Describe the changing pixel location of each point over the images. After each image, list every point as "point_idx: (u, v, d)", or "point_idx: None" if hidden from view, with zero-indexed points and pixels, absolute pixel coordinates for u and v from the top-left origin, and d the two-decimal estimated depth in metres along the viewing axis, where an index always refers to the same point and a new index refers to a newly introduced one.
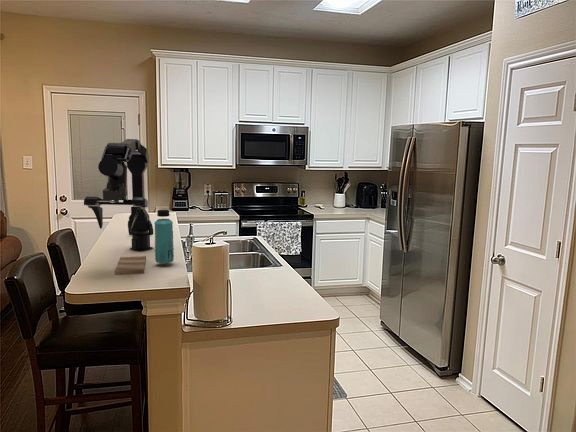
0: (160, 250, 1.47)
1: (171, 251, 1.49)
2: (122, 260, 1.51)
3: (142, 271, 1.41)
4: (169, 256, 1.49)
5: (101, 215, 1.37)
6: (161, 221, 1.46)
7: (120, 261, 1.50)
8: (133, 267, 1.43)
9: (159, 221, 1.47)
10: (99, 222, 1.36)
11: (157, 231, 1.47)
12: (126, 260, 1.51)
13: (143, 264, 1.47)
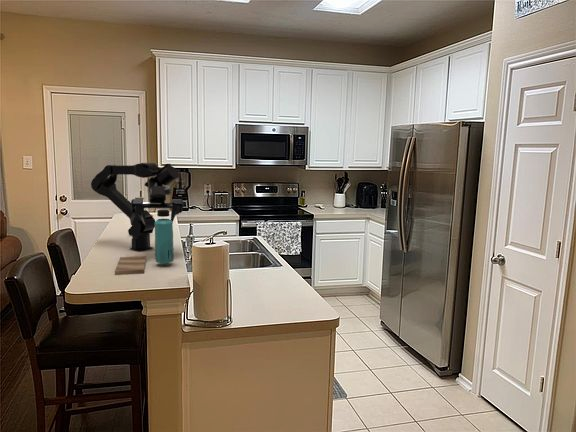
0: (160, 250, 1.47)
1: (171, 251, 1.49)
2: (122, 260, 1.51)
3: (142, 271, 1.41)
4: (169, 256, 1.49)
5: None
6: (161, 221, 1.46)
7: (120, 261, 1.50)
8: (133, 267, 1.43)
9: (159, 221, 1.47)
10: (144, 219, 1.54)
11: (157, 231, 1.47)
12: (126, 260, 1.51)
13: (143, 264, 1.47)
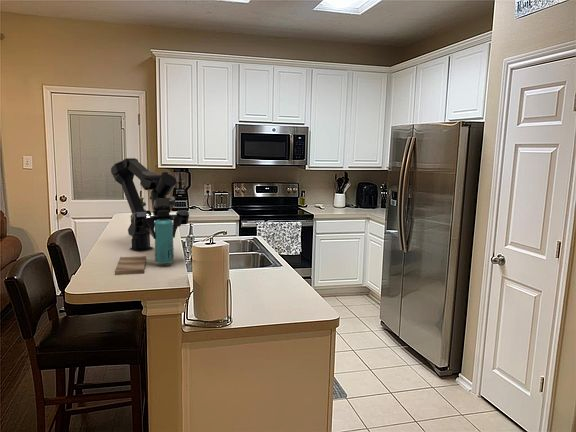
0: (160, 250, 1.47)
1: (171, 251, 1.49)
2: (122, 260, 1.51)
3: (142, 271, 1.41)
4: (169, 256, 1.49)
5: None
6: (161, 221, 1.46)
7: (120, 261, 1.50)
8: (133, 267, 1.43)
9: (159, 221, 1.47)
10: (153, 232, 1.48)
11: (157, 231, 1.47)
12: (126, 260, 1.51)
13: (143, 264, 1.47)
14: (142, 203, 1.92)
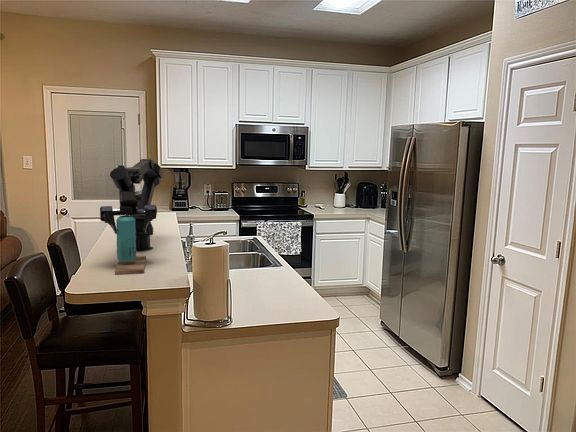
0: (121, 247, 1.44)
1: (133, 249, 1.46)
2: None
3: (142, 271, 1.41)
4: (131, 254, 1.45)
5: None
6: (123, 218, 1.43)
7: (120, 261, 1.50)
8: (133, 267, 1.43)
9: (121, 218, 1.43)
10: (114, 227, 1.44)
11: (118, 228, 1.43)
12: None
13: (143, 264, 1.47)
14: None
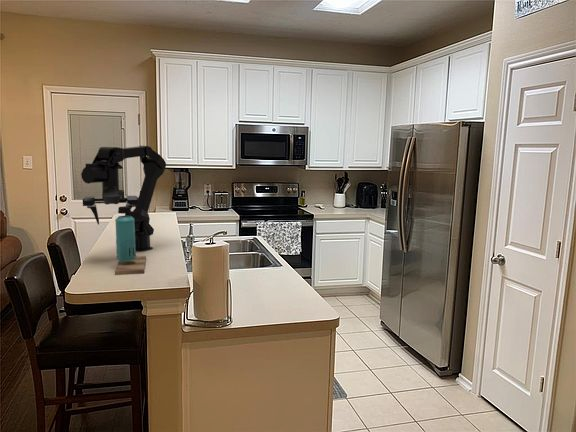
0: (121, 247, 1.44)
1: (133, 249, 1.46)
2: None
3: (142, 271, 1.41)
4: (130, 254, 1.45)
5: (97, 212, 1.54)
6: (122, 218, 1.43)
7: (120, 261, 1.50)
8: (133, 267, 1.43)
9: (120, 218, 1.43)
10: (97, 219, 1.53)
11: (117, 228, 1.43)
12: None
13: (143, 264, 1.47)
14: None
